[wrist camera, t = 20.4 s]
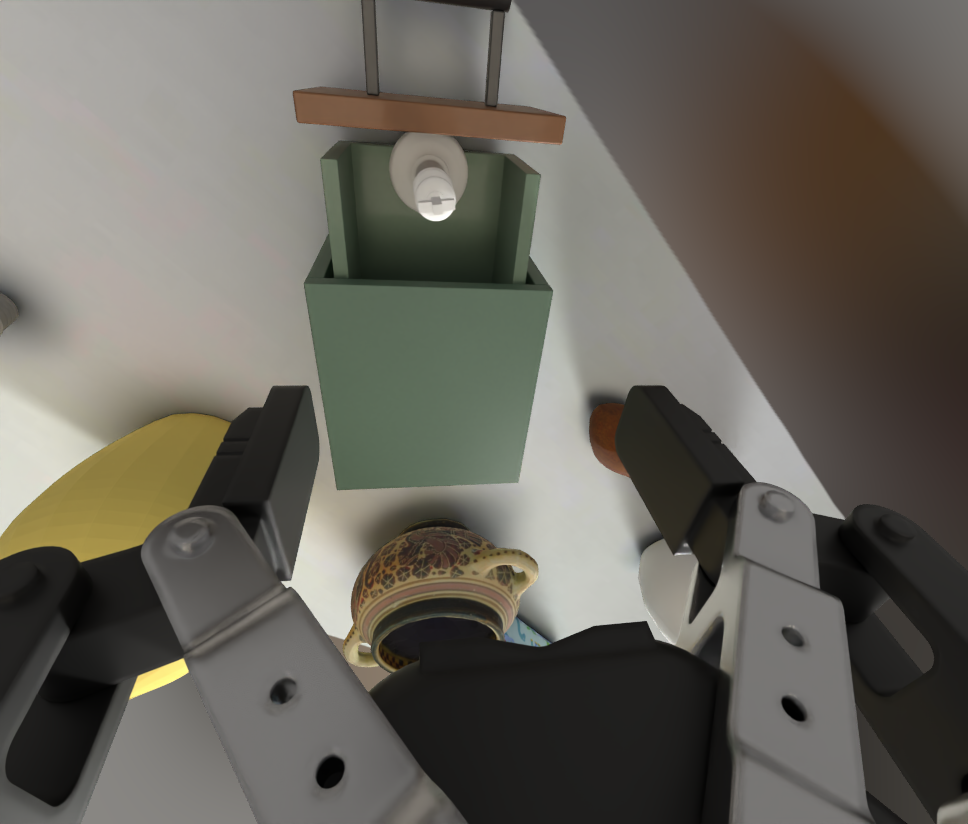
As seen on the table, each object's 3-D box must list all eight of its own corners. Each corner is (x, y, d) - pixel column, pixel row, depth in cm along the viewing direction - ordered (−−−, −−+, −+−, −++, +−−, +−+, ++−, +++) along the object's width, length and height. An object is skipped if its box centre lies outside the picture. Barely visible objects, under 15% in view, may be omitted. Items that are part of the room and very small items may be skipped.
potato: (617, 468, 50) (641, 513, 45) (559, 414, 44) (579, 458, 39) (664, 437, 48) (694, 480, 43) (609, 376, 42) (637, 417, 37)
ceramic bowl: (487, 447, 49) (486, 539, 36) (565, 550, 56) (591, 663, 42) (322, 542, 55) (268, 652, 42) (409, 626, 61) (387, 745, 48)
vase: (55, 437, 38) (-424, 935, 16) (201, 352, 35) (-138, 813, 13) (207, 534, 48) (36, 930, 26) (331, 472, 45) (259, 858, 23)
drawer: (305, -41, 23) (267, -85, 16) (545, -8, 25) (591, -35, 18) (345, 319, 34) (331, 373, 28) (505, 322, 36) (525, 373, 30)
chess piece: (382, 128, 26) (372, 151, 19) (465, 122, 27) (489, 143, 19) (396, 216, 29) (392, 268, 22) (470, 210, 30) (493, 259, 22)
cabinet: (329, 231, 31) (303, 283, 24) (519, 240, 34) (553, 290, 26) (350, 411, 41) (336, 490, 33) (498, 409, 43) (518, 483, 35)
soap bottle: (725, 561, 66) (899, 826, 43) (655, 595, 69) (781, 859, 46) (685, 507, 57) (879, 809, 33) (606, 549, 60) (733, 852, 37)
